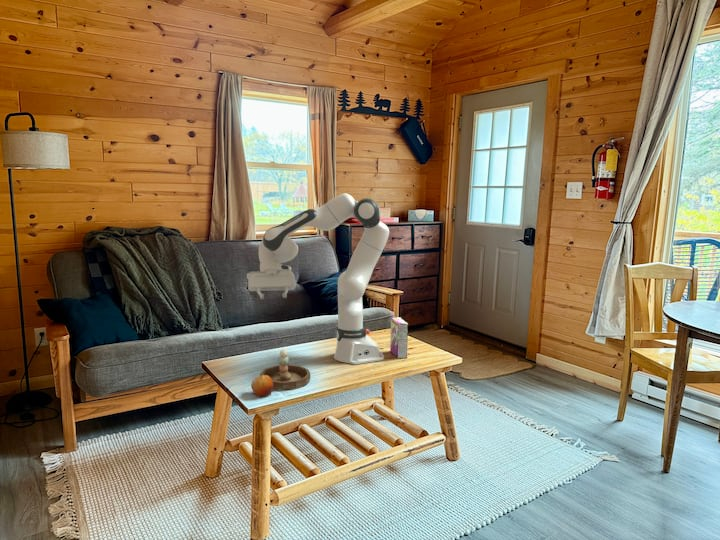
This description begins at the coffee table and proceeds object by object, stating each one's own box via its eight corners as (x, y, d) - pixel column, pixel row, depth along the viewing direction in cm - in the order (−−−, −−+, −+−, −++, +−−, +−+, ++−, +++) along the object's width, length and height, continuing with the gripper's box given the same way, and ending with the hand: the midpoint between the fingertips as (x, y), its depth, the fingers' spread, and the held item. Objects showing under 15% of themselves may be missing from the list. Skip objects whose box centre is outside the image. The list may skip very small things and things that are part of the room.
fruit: (280, 393, 180) (268, 376, 178) (261, 405, 179) (249, 388, 177) (277, 384, 188) (266, 368, 186) (259, 396, 187) (247, 380, 184)
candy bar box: (389, 351, 235) (390, 317, 232) (399, 350, 236) (400, 317, 233) (396, 359, 224) (398, 323, 221) (407, 358, 225) (408, 323, 222)
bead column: (287, 372, 203) (287, 347, 202) (289, 375, 200) (289, 350, 198) (278, 373, 202) (278, 348, 200) (279, 376, 198) (279, 351, 197)
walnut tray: (304, 370, 208) (304, 363, 207) (313, 387, 190) (314, 379, 189) (258, 374, 202) (258, 367, 202) (263, 392, 184) (263, 384, 184)
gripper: (246, 267, 211) (248, 294, 204) (294, 266, 217) (298, 292, 209) (245, 276, 216) (247, 302, 208) (292, 274, 222) (296, 300, 214)
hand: (273, 297), depth 209 cm, fingers open, 8 cm apart
